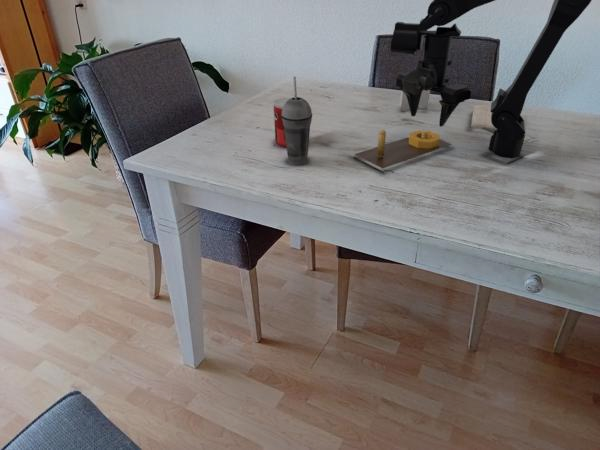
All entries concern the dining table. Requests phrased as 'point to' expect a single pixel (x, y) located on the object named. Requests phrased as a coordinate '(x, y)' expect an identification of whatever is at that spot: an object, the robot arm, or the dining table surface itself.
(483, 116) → the washcloth
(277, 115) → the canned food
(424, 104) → the grey block
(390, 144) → the peg rack
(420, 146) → the ring
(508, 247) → the dining table surface
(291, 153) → the beverage cup
